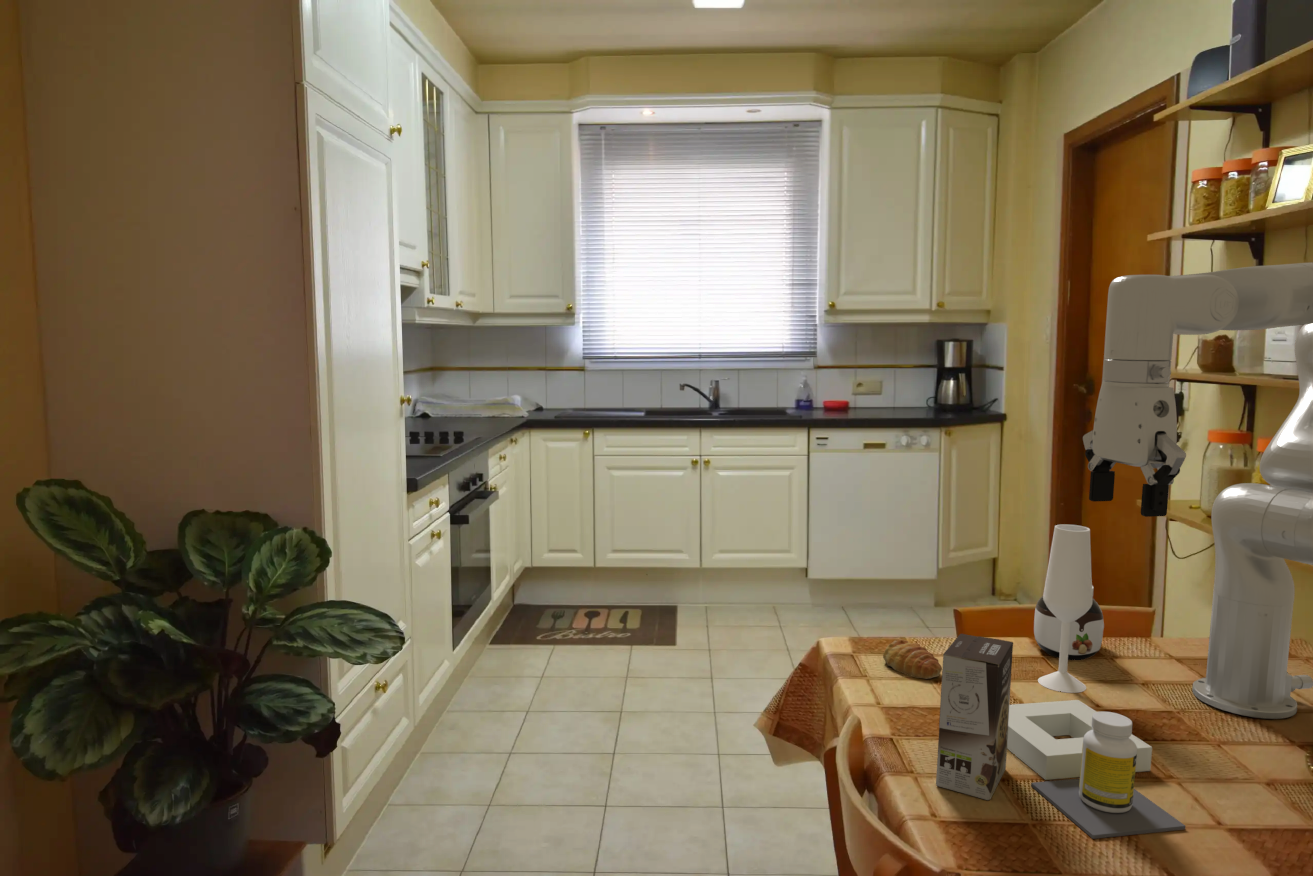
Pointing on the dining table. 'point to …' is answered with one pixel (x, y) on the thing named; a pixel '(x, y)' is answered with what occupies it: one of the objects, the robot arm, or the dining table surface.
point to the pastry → (911, 659)
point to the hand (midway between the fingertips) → (1126, 508)
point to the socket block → (1057, 756)
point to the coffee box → (974, 715)
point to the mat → (1107, 824)
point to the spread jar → (1082, 632)
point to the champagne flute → (1068, 594)
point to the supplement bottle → (1108, 763)
